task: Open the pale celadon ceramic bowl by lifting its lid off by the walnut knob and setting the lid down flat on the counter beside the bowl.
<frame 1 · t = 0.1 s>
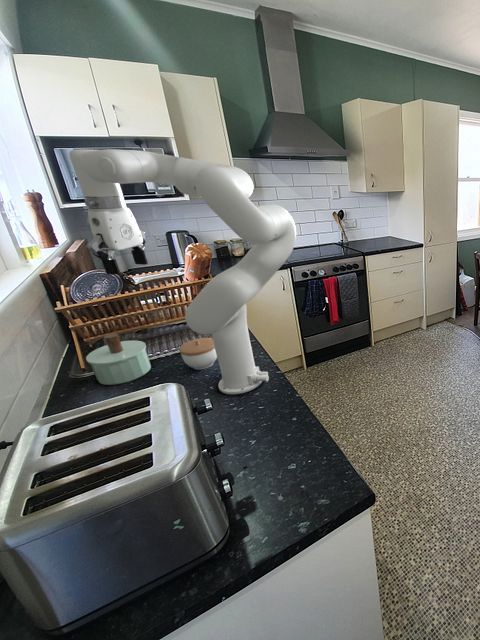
hand: (128, 268, 95), 37 cm above the counter, tool pointing down, fingers open, 9 cm apart
bowl: (125, 372, 113), on the counter
bowl lid: (117, 352, 110), point 7 cm above the counter, touching bowl
trinket box: (203, 365, 119), on the counter
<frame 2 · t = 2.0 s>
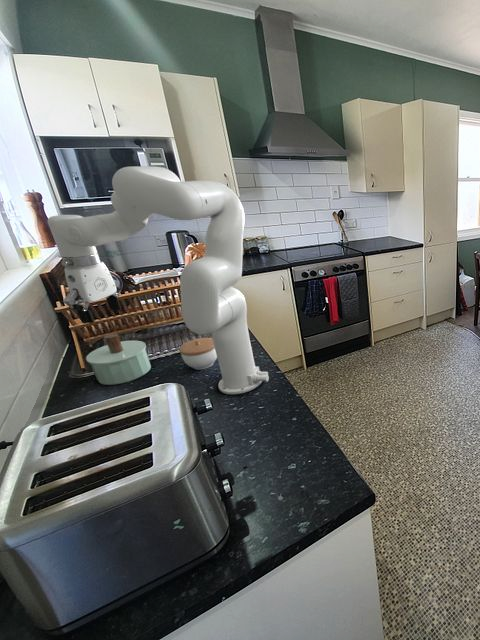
hand: (102, 315, 105), 20 cm above the counter, tool pointing down, fingers open, 9 cm apart
nothing on the counter moved.
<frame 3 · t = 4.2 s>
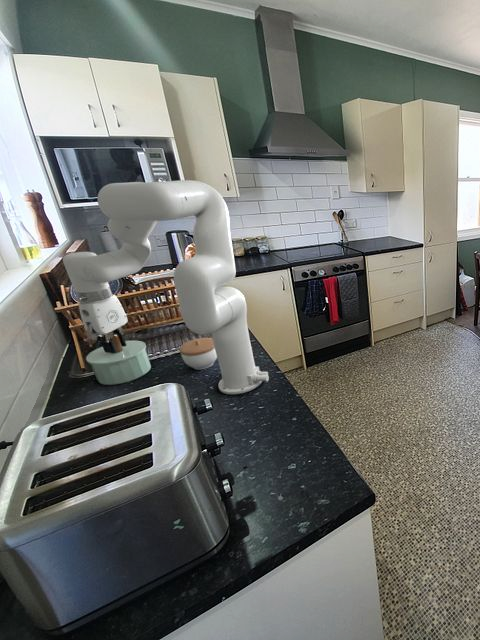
hand: (116, 348, 109), 9 cm above the counter, tool pointing down, fingers closed on bowl lid, 3 cm apart
bowl lid: (117, 352, 110), point 8 cm above the counter, touching bowl, gripper
everything else where it was.
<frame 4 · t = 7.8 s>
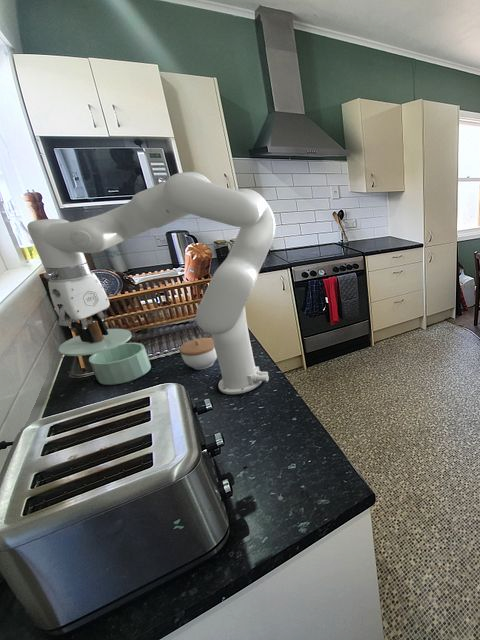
hand: (95, 337, 92), 20 cm above the counter, tool pointing down, fingers closed on bowl lid, 3 cm apart
bowl lid: (97, 342, 93), point 19 cm above the counter, touching gripper
everything else where it was.
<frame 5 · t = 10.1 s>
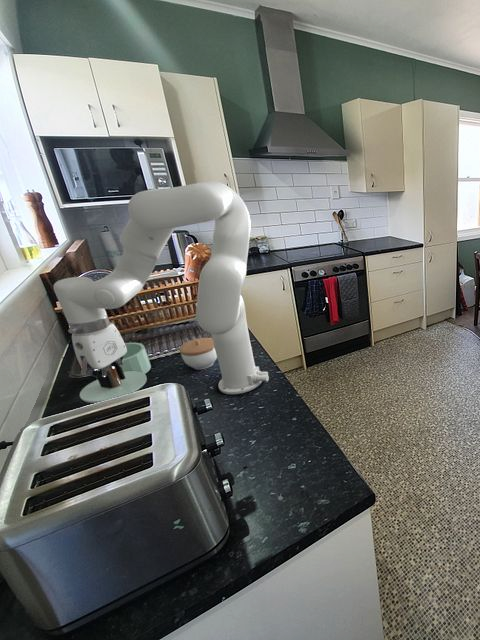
hand: (113, 382, 98), 6 cm above the counter, tool pointing down, fingers closed on bowl lid, 3 cm apart
bowl lid: (115, 386, 99), point 5 cm above the counter, touching gripper
everything else where it was.
when the fingers open (2 cm above the counter, at t = 11.5 s): bowl lid stays where it is, point 1 cm above the counter.
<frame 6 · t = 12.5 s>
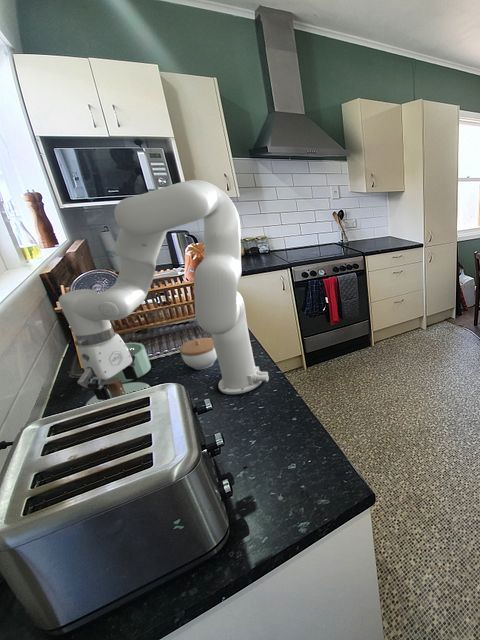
hand: (118, 388, 99), 4 cm above the counter, tool pointing down, fingers open, 9 cm apart
bowl lid: (120, 398, 100), point 1 cm above the counter
everything else where it was.
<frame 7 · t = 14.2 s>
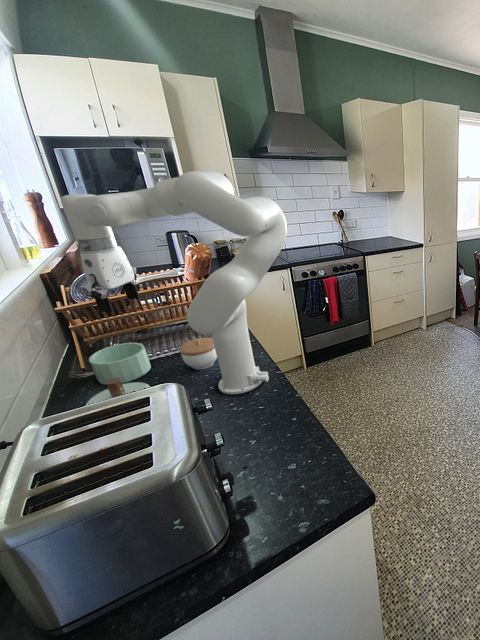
hand: (121, 304, 98), 26 cm above the counter, tool pointing down, fingers open, 9 cm apart
nothing on the counter moved.
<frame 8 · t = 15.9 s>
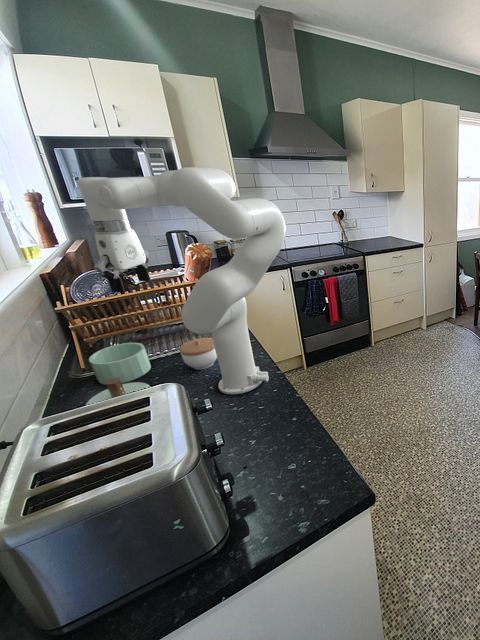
hand: (132, 286, 101), 30 cm above the counter, tool pointing down, fingers open, 9 cm apart
nothing on the counter moved.
at the end: bowl lid inside the target area (0.2 cm from its centre), point 0.6 cm above the counter; bowl lid tilted 0°; the gripper is holding nothing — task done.
